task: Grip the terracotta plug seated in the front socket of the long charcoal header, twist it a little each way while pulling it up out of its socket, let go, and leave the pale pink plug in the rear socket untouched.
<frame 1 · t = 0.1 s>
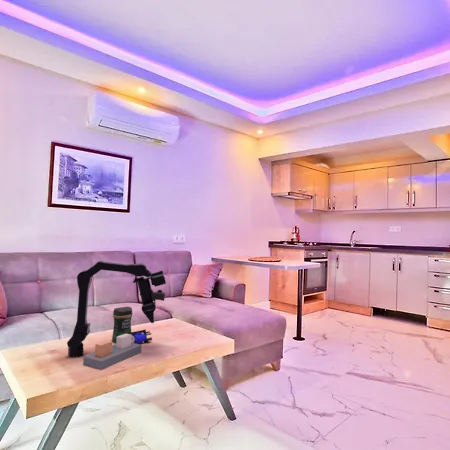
hand: (152, 320, 162), 15 cm above the table, tool pointing down, fingers open, 9 cm apart
pale pink plug: (123, 344, 157), point 5 cm above the table, slide at 0.0 cm
header: (113, 360, 151), on the table
terracotta plug: (103, 352, 146), point 5 cm above the table, slide at 0.0 cm
coffee jar: (122, 343, 176), on the table
character figurine: (137, 345, 172), on the table
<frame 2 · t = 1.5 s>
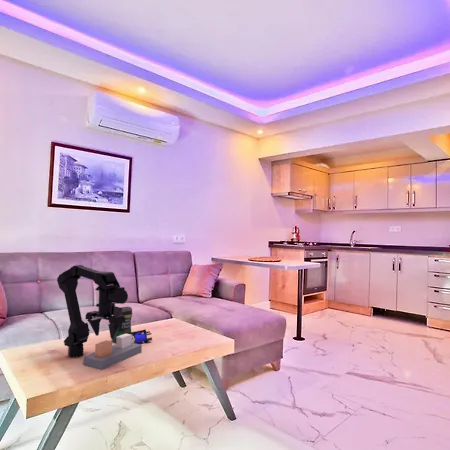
hand: (104, 337, 147), 12 cm above the table, tool pointing down, fingers open, 9 cm apart
nothing on the table moved.
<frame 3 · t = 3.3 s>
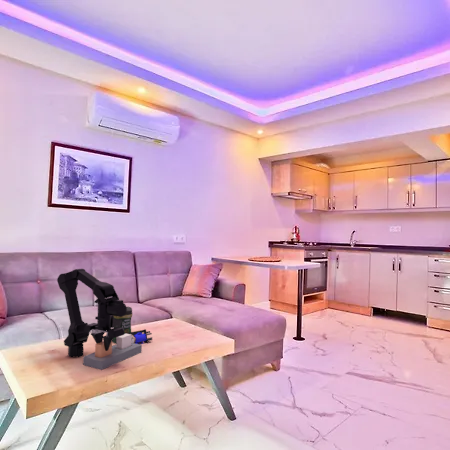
hand: (103, 349, 146), 6 cm above the table, tool pointing down, fingers closed on terracotta plug, 3 cm apart
terracotta plug: (103, 352, 146), point 5 cm above the table, slide at 0.0 cm, touching gripper
everything else where it was.
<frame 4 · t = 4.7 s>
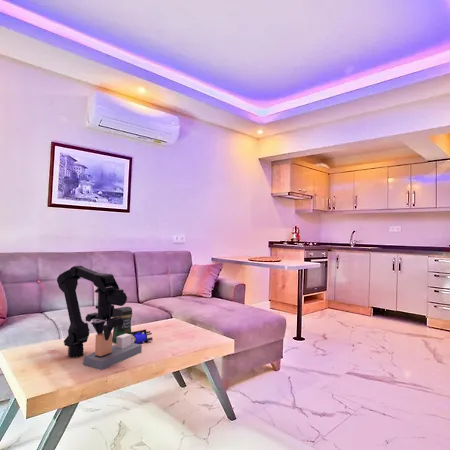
hand: (103, 339, 146), 11 cm above the table, tool pointing down, fingers closed on terracotta plug, 4 cm apart
terracotta plug: (103, 343, 146), point 9 cm above the table, slide at 3.8 cm, touching gripper
everything else where it was.
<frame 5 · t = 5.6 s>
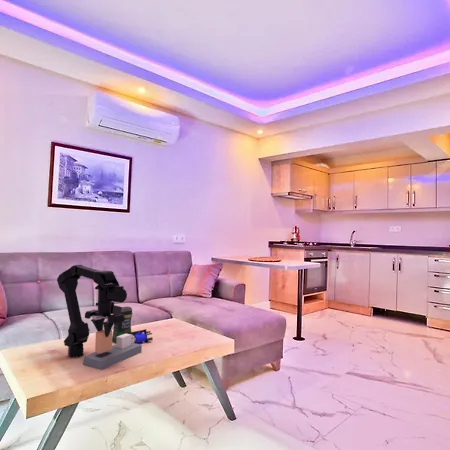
hand: (104, 336, 146), 12 cm above the table, tool pointing down, fingers closed on terracotta plug, 3 cm apart
terracotta plug: (103, 340, 146), point 10 cm above the table, slide at 5.1 cm, touching gripper
everything else where it was.
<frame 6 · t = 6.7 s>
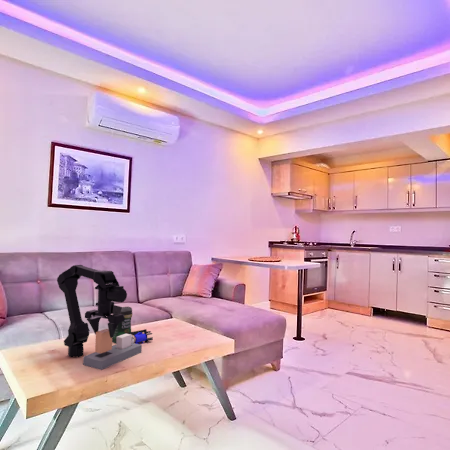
hand: (104, 336, 146), 12 cm above the table, tool pointing down, fingers open, 9 cm apart
terracotta plug: (103, 340, 146), point 10 cm above the table, slide at 5.1 cm
everything else where it was.
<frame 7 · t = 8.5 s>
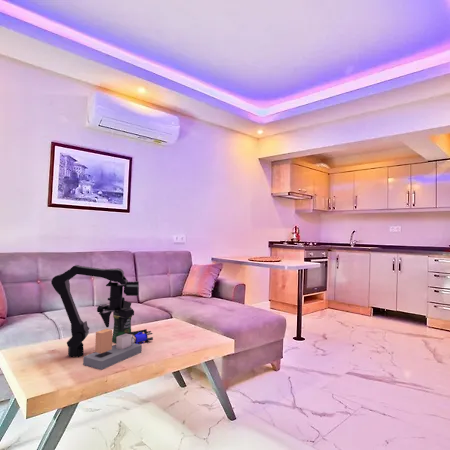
hand: (114, 329, 158), 12 cm above the table, tool pointing down, fingers open, 9 cm apart
nothing on the table moved.
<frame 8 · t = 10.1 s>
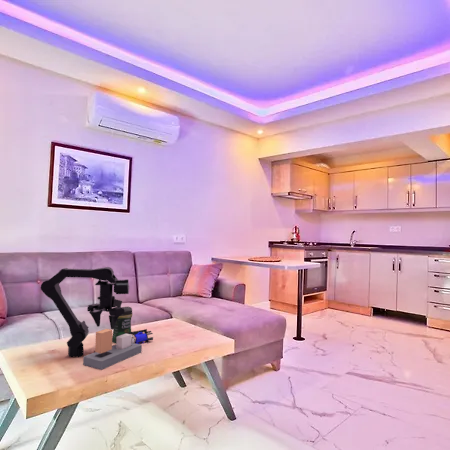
hand: (105, 327, 157), 13 cm above the table, tool pointing down, fingers open, 9 cm apart
nothing on the table moved.
at the end: terracotta plug slide at 5.1 cm; the gripper is holding nothing; pale pink plug slide at 0.0 cm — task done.
